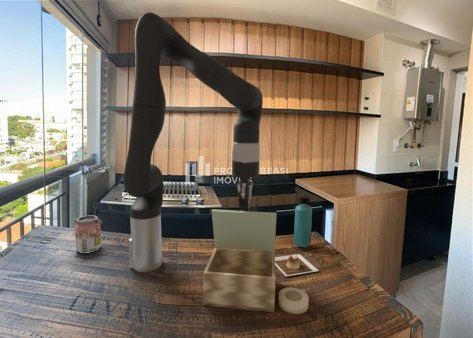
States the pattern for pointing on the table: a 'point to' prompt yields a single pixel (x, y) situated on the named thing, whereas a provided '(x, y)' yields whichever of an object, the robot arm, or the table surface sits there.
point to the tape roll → (293, 300)
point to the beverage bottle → (303, 223)
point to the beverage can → (88, 233)
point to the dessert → (294, 263)
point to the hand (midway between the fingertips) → (244, 218)
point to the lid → (244, 230)
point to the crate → (240, 280)
